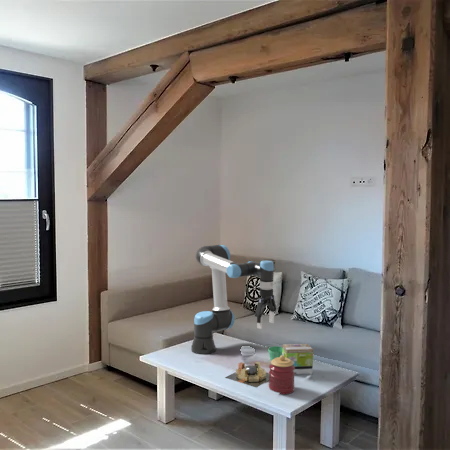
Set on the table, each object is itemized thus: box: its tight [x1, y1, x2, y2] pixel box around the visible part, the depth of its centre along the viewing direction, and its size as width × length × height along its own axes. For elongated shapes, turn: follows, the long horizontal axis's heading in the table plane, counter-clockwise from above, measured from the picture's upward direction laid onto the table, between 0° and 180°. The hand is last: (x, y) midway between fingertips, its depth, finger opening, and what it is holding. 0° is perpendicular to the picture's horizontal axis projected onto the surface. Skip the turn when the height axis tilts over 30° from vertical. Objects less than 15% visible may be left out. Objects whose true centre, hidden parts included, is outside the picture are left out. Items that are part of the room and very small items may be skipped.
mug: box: [268, 345, 282, 362], centre depth 279 cm, size 15×10×10 cm
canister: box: [268, 355, 296, 395], centre depth 245 cm, size 13×13×18 cm
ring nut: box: [235, 361, 268, 382], centre depth 259 cm, size 16×16×5 cm
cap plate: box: [224, 364, 269, 388], centre depth 259 cm, size 20×20×6 cm
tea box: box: [281, 343, 314, 376], centre depth 268 cm, size 15×10×15 cm
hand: (265, 325), depth 274 cm, fingers open, 13 cm apart
